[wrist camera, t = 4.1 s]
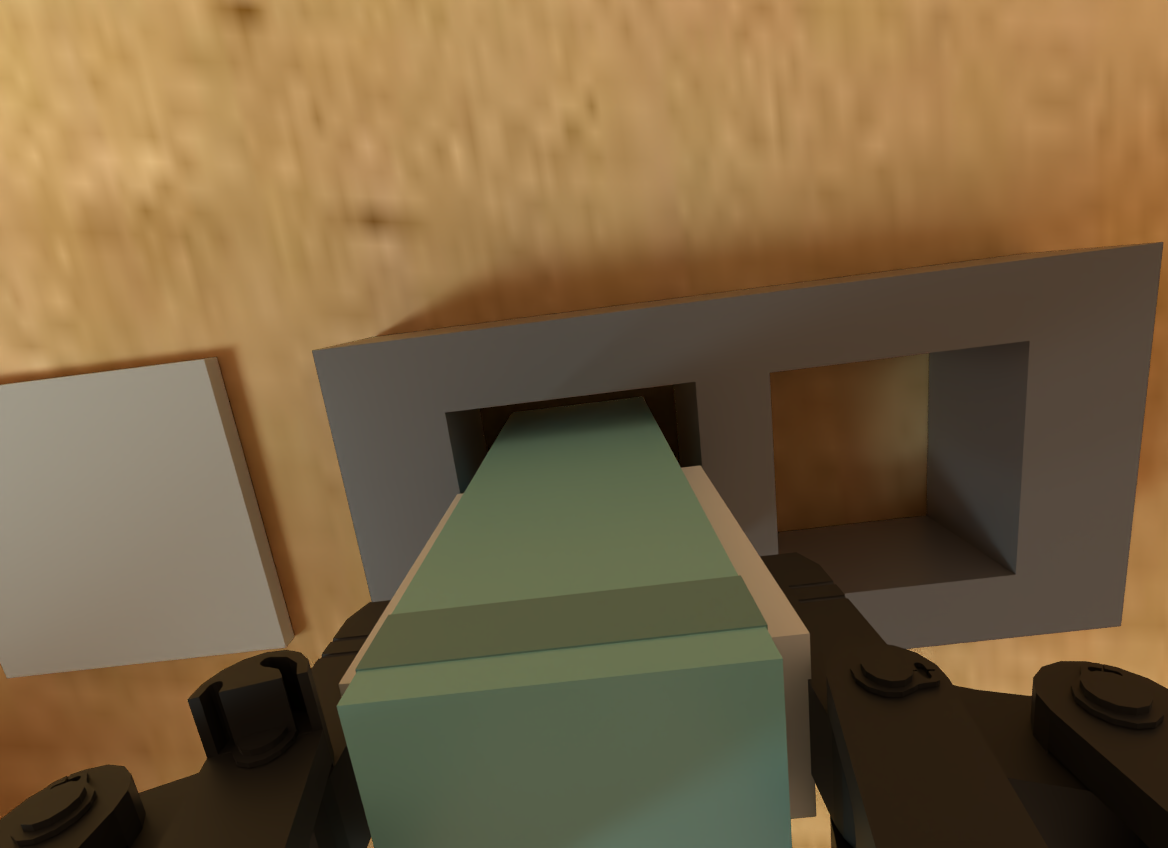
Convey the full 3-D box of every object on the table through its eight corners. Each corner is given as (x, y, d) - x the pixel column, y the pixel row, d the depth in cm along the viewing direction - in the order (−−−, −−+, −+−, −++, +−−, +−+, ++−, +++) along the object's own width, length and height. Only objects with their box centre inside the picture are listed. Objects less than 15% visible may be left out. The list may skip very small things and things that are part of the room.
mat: (23, 666, 20) (6, 678, 20) (-89, 396, 18) (-111, 399, 17) (294, 637, 20) (285, 647, 19) (216, 356, 18) (204, 359, 17)
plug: (530, 533, 19) (420, 1026, 6) (511, 411, 18) (334, 703, 5) (655, 519, 19) (800, 993, 6) (643, 395, 18) (785, 655, 5)
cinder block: (433, 621, 20) (395, 703, 16) (373, 336, 17) (312, 350, 14) (1011, 557, 19) (1121, 626, 15) (1028, 253, 17) (1163, 242, 13)
